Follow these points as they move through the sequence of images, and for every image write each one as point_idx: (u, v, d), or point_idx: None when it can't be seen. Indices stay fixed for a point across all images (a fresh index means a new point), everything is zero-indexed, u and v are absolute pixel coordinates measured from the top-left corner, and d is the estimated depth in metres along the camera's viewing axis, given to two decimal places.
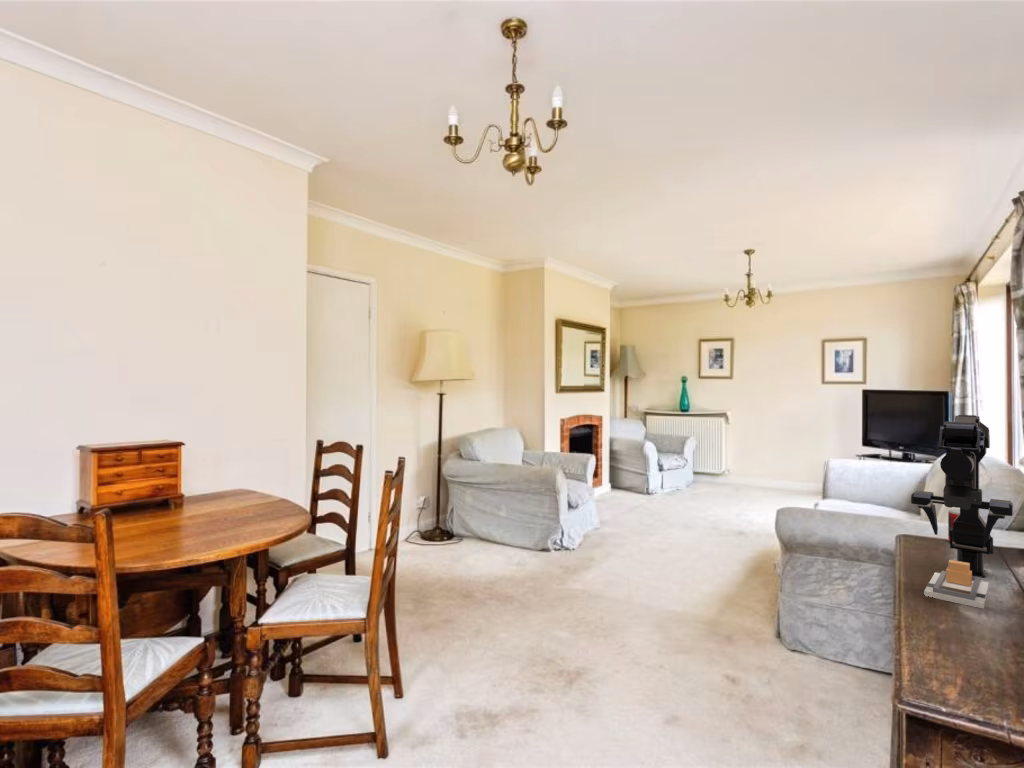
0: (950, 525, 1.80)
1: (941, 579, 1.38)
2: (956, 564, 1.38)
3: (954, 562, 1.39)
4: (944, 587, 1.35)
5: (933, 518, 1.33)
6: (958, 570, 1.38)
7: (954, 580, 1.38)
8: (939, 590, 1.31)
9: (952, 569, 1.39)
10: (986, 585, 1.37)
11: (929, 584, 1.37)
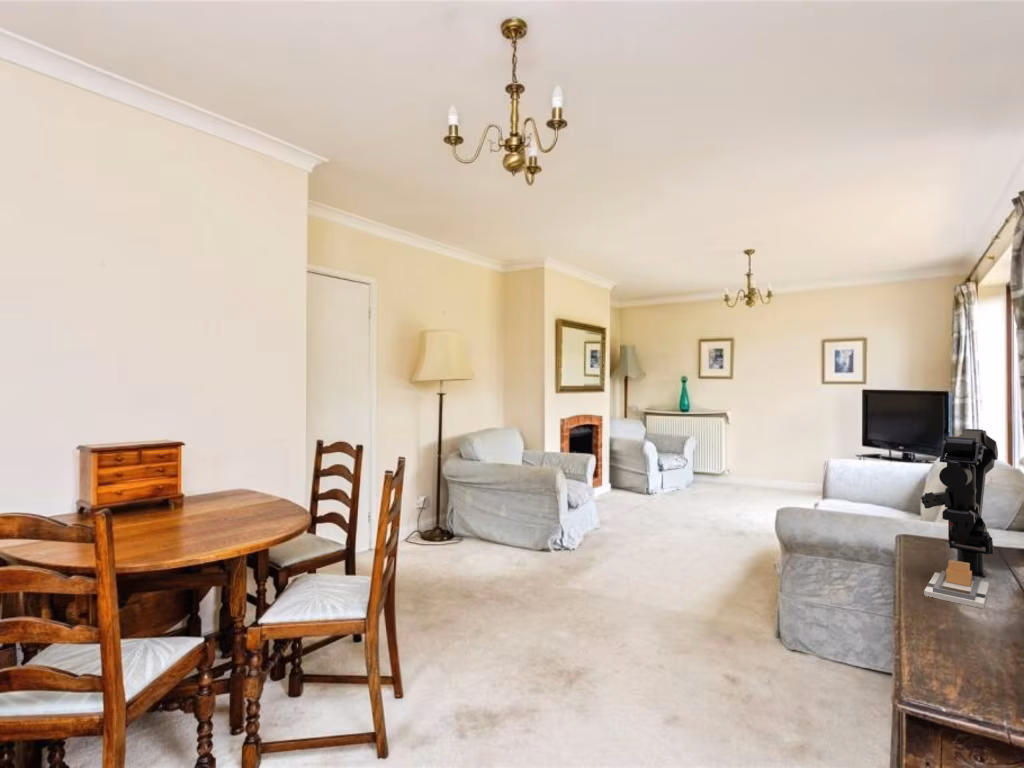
0: (950, 525, 1.80)
1: (941, 579, 1.38)
2: (956, 564, 1.38)
3: (954, 562, 1.39)
4: (944, 587, 1.35)
5: None
6: (958, 570, 1.38)
7: (954, 580, 1.38)
8: (939, 590, 1.31)
9: (952, 569, 1.39)
10: (986, 585, 1.37)
11: (929, 584, 1.37)
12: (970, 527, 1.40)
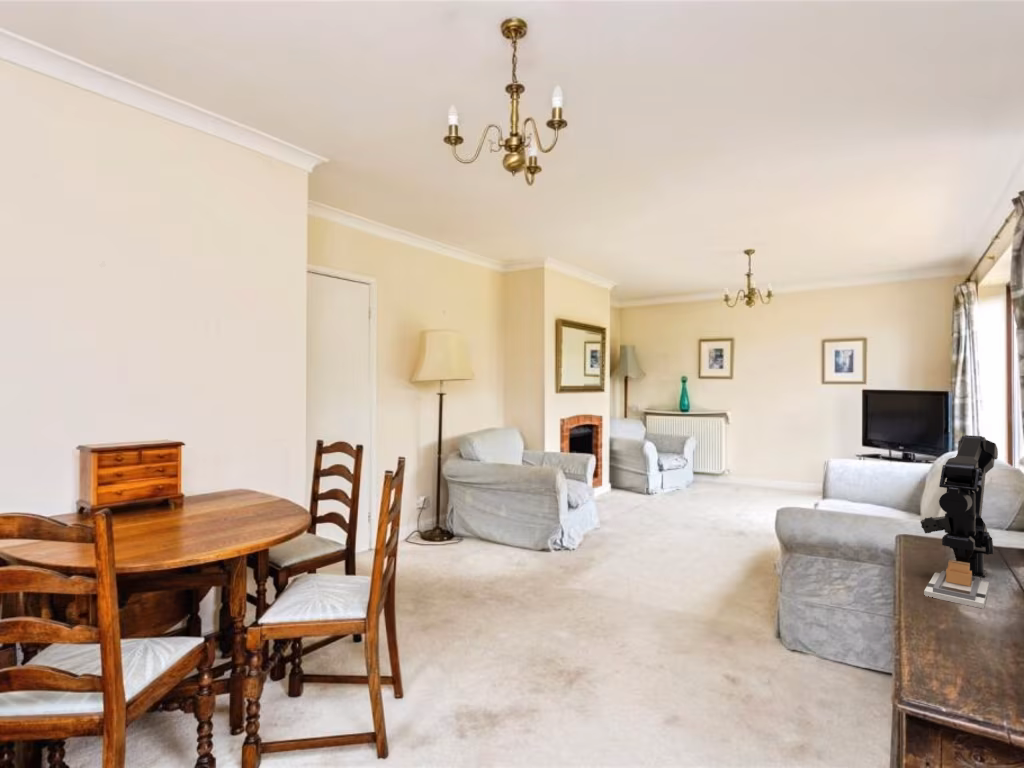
0: None
1: (941, 579, 1.38)
2: (956, 564, 1.38)
3: (954, 562, 1.39)
4: (944, 587, 1.35)
5: None
6: (958, 570, 1.38)
7: (954, 580, 1.38)
8: (939, 590, 1.31)
9: (952, 569, 1.39)
10: (986, 585, 1.37)
11: (929, 584, 1.37)
12: (970, 553, 1.40)
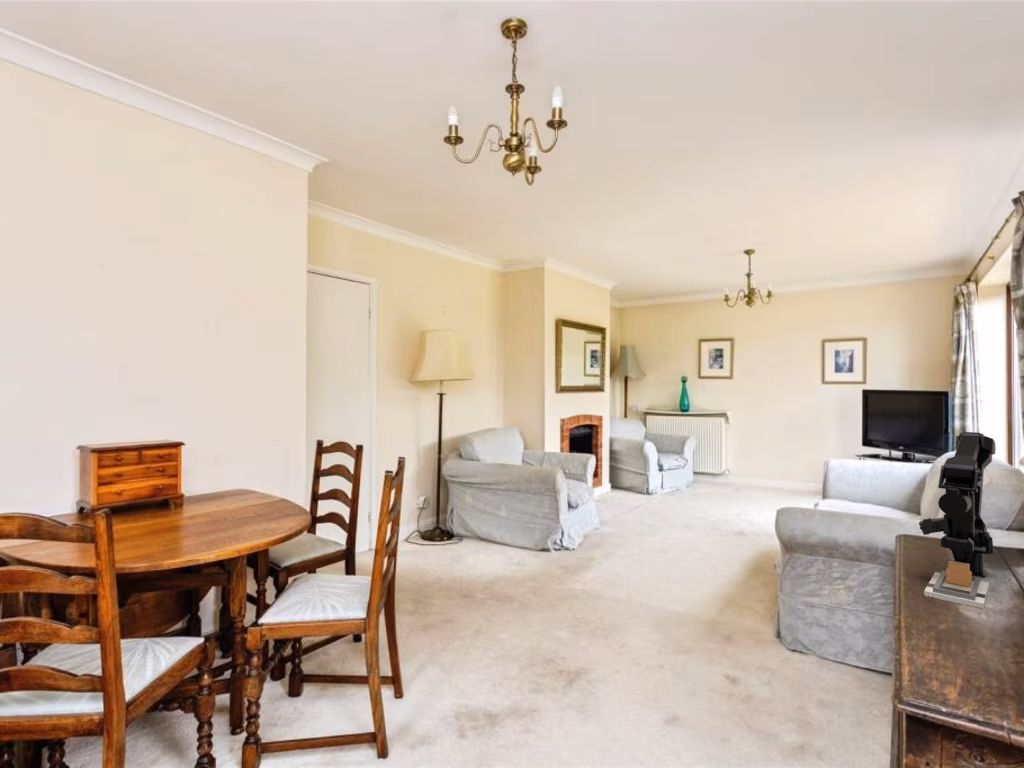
0: None
1: (941, 579, 1.38)
2: (956, 565, 1.38)
3: (954, 563, 1.38)
4: (944, 587, 1.35)
5: None
6: (958, 571, 1.37)
7: (954, 580, 1.37)
8: (939, 590, 1.31)
9: (952, 570, 1.38)
10: (986, 585, 1.37)
11: (929, 584, 1.37)
12: (969, 555, 1.38)
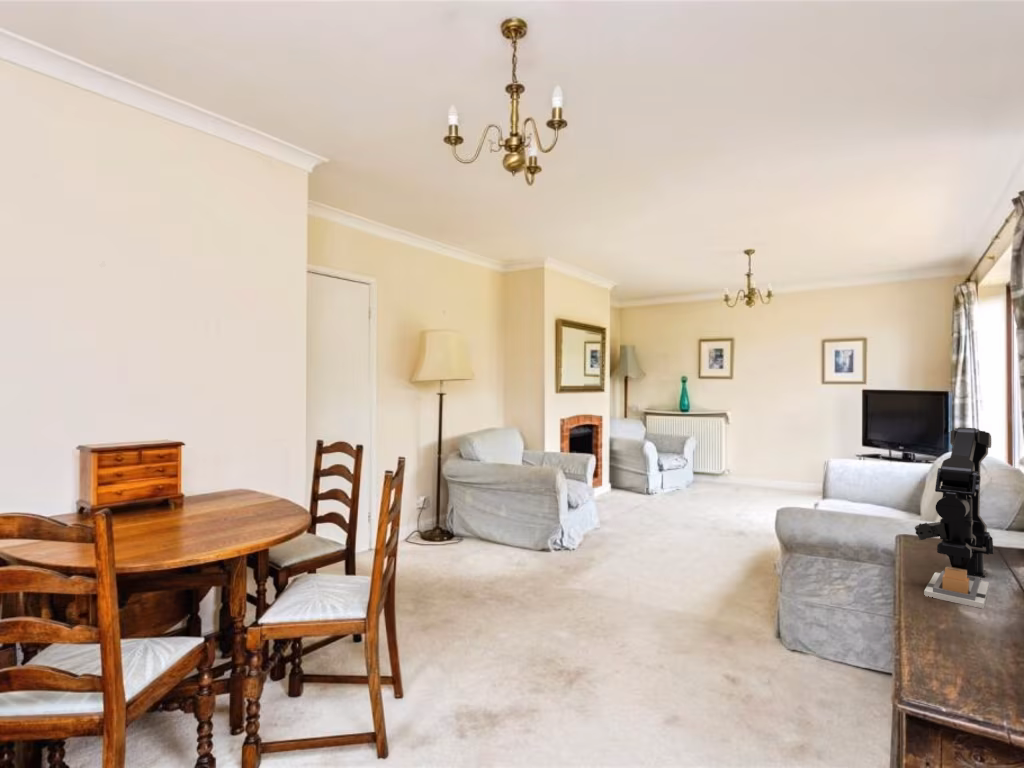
0: None
1: (941, 579, 1.38)
2: (953, 571, 1.33)
3: (951, 569, 1.33)
4: None
5: None
6: (955, 577, 1.32)
7: (951, 587, 1.32)
8: (939, 590, 1.31)
9: (949, 576, 1.33)
10: (986, 585, 1.37)
11: (929, 584, 1.37)
12: (966, 561, 1.33)
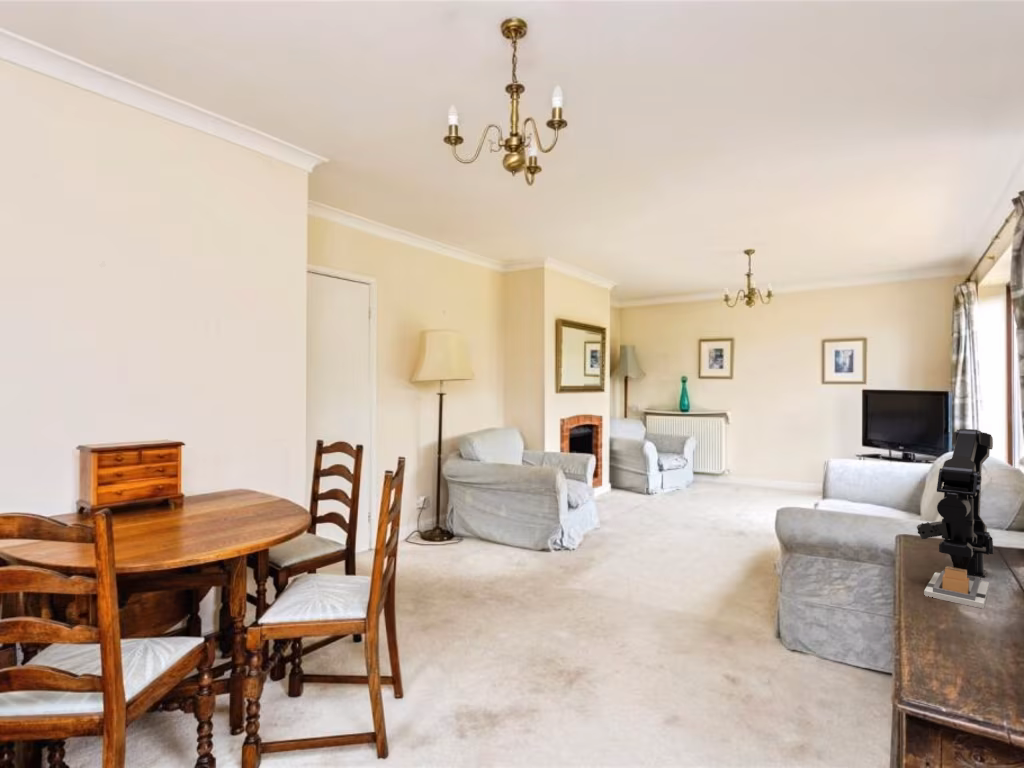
0: None
1: (941, 579, 1.38)
2: (953, 571, 1.33)
3: (951, 569, 1.33)
4: None
5: None
6: (955, 577, 1.32)
7: (951, 587, 1.32)
8: (939, 590, 1.31)
9: (949, 576, 1.33)
10: (986, 585, 1.37)
11: (929, 584, 1.37)
12: (968, 560, 1.35)
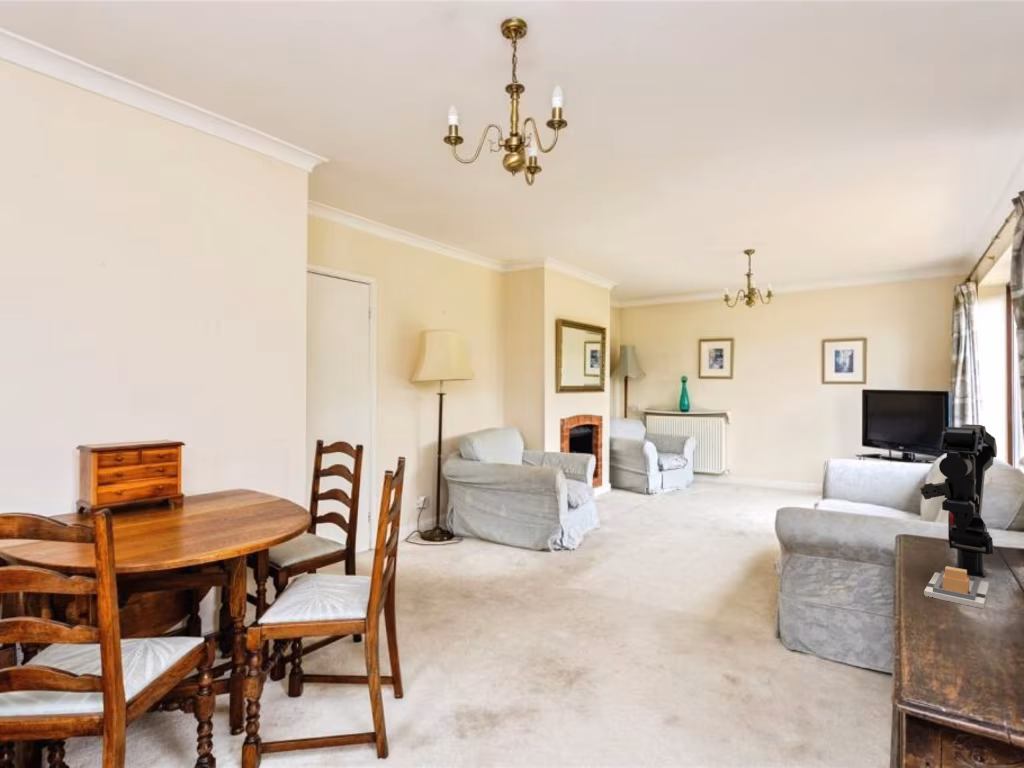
0: (950, 525, 1.80)
1: (941, 579, 1.38)
2: (953, 571, 1.33)
3: (951, 569, 1.33)
4: None
5: None
6: (955, 577, 1.32)
7: (951, 587, 1.32)
8: (939, 590, 1.31)
9: (949, 576, 1.33)
10: (986, 585, 1.37)
11: (929, 584, 1.37)
12: (970, 518, 1.40)
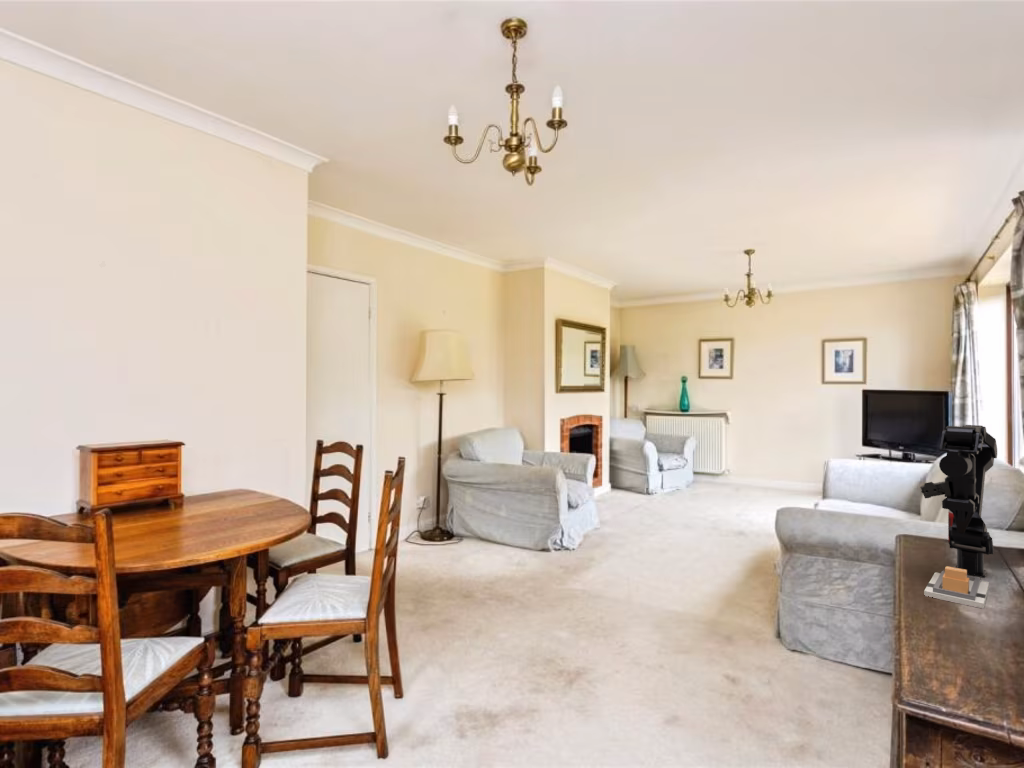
0: (950, 525, 1.80)
1: (941, 579, 1.38)
2: (953, 571, 1.33)
3: (951, 569, 1.33)
4: None
5: None
6: (955, 577, 1.32)
7: (951, 587, 1.32)
8: (939, 590, 1.31)
9: (949, 576, 1.33)
10: (986, 585, 1.37)
11: (929, 584, 1.37)
12: (970, 516, 1.40)
